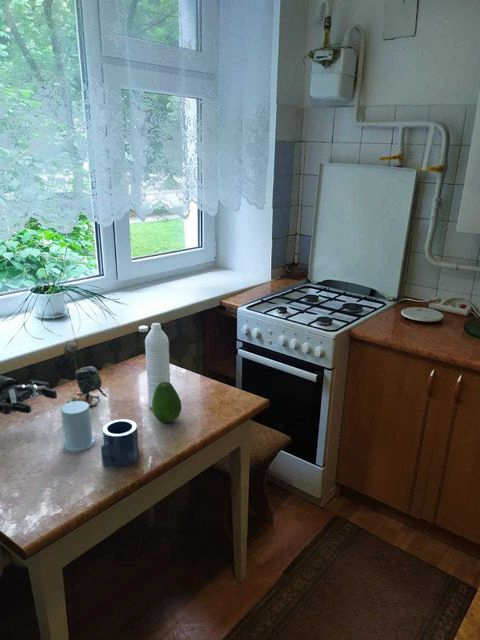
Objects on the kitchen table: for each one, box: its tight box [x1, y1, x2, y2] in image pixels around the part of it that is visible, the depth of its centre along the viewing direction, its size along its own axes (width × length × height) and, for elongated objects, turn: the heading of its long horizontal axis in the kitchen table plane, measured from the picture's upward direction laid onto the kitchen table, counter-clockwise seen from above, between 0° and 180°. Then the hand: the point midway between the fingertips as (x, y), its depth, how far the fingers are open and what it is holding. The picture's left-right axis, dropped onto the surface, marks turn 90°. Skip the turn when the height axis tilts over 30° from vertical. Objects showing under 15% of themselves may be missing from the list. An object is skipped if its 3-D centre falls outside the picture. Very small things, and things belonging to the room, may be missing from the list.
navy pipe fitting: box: [100, 418, 140, 469], centre depth 117 cm, size 11×8×8 cm
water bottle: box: [138, 322, 171, 408], centre depth 140 cm, size 9×6×25 cm
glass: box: [60, 401, 96, 453], centre depth 123 cm, size 7×7×10 cm
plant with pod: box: [62, 340, 108, 407], centre depth 141 cm, size 8×11×20 cm
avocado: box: [151, 382, 182, 424], centre depth 134 cm, size 8×8×12 cm
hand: (43, 401), depth 125 cm, fingers open, 8 cm apart
